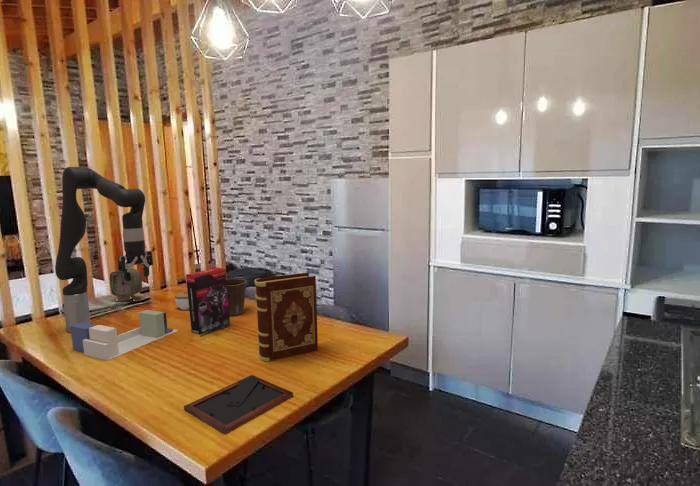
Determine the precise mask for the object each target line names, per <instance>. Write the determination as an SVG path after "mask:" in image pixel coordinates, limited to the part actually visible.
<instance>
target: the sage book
mask: <svg viewBox="0 0 700 486" xmlns="http://www.w3.org/2000/svg"><path fill="white" fill-rule="evenodd" d="M151 310H152V309H151ZM151 310H149V309H146V310H142V311H139V312H138V318H139V327H140V330H141V335H145V336H150V337H155V338H159V337H161V336H164V335H165V326H164V314H163V312H164V311H158V310H152V311H151ZM157 311H158V312H157ZM164 337H165V336H164ZM159 339H160V338H159Z"/></svg>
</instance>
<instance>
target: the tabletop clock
mask: <svg viewBox="0 0 700 486" xmlns="http://www.w3.org/2000/svg"><path fill="white" fill-rule="evenodd" d="M125 263H126V261H125ZM129 272H130V276H131V281H129V282H128V281H126V280H125V279H124V272H122V271H119V270H115V271H112V272H110V274H109V286H110V291H111V294H112V295H113V296H115V297H117V298H118V297H119V298H120V297H122V298H123V297H130V296H131V297H132V298H133V297H134V298H135V295H136V294H139V293H141V292H142V290H143V278H142V273H141V270H138V269H135V268H131V269H130V271H129Z"/></svg>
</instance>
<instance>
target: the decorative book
mask: <svg viewBox="0 0 700 486" xmlns="http://www.w3.org/2000/svg"><path fill="white" fill-rule="evenodd" d="M316 278H317V277H316V275H312V276H310V272H301V273H300V272H299V273H291V274H285V275H278V276H270V277H268V276H267V277H262V278H261V277H260V278H256V279H254V285H255V299H256V305H255V309H256V315H257V317H256V318H257V329H256V333H257V335H258V336H257V337H258V339H257V345H258V355H257V356H258V359H259V360H261V361H263V362H269V361H274V360H279V359H284V358H288V357H292V356H297V355H301V354H307V353H311V352H315V351H316V352H317V351H318V347H319V346H318V345H319V343H318V341H319V340H318V311H317V309H318V308H317V306H318V305H317V280H316Z"/></svg>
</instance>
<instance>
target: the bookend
mask: <svg viewBox="0 0 700 486" xmlns="http://www.w3.org/2000/svg"><path fill="white" fill-rule="evenodd" d="M151 311H153V310H152V309H151ZM156 311H157V312H159V311H158V310H156ZM162 312H163V314H164V326H165V333H168V332H170V331H173V329H174V328H169V327H168V320H167V312H165V311H162Z"/></svg>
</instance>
